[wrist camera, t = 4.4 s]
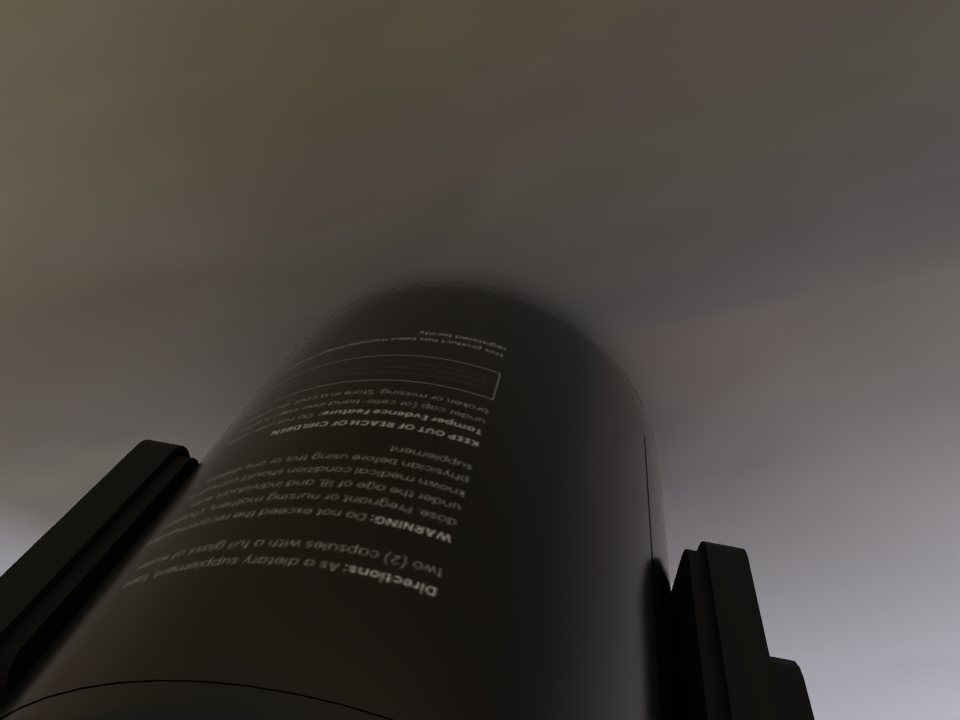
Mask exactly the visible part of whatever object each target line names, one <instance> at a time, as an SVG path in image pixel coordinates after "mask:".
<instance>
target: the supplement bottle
mask: <svg viewBox="0 0 960 720" xmlns="http://www.w3.org/2000/svg"><path fill="white" fill-rule="evenodd" d="M0 720H682V709H681V699H680V688H679V677H678V666H677V655H676V644H675V633H674V623H673V612H672V601H671V590H670V579H669V568H668V558H667V547H666V536H665V525H664V514H663V503H662V493H661V484H660V478H659V468H658V460H657V453H656V448H655V443H654V438H653V434H652V430H651V427H650V424H649V421H648V417H647V414H646V412H645V410H644V407H643V405H642V403H641V401H640V398H639V396H638V395H637V393H636V391H635V389H634V388H633V386H632V384H631V383H630V381H629V379H628V378H627V377H626V375H625V374H624V373H623V371H622V370H621V369H620V367H619V366H618V365H617V363H616V362H615V361H614V360H613V359H612V358H611V357H610V355H609V354H608V353H607V352H606V351H605V350H604V349H603V348H602V347H601V346H600V345H599V344H598V343H597V342H596V341H594V340H593V339H592V338H591V337H590V336H589V335H588V334H587V333H585V332H584V331H583V330H581V329H580V328H578V327H577V326H576V325H574V324H573V323H572V322H570V321H569V320H567V319H565V318H564V317H562V316H560V315H559V314H557V313H555V312H554V311H552V310H550V309H548V308H546V307H544V306H542V305H539V304H537V303H535V302H533V301H530V300H528V299H525V298H522V297H520V296H517V295H515V294H511V293H507V292H504V291H500V290H497V289H492V288H487V287H481V286H476V285H467V284H456V283H430V284H420V285H411V286H406V287H401V288H396V289H392V290H388V291H385V292H382V293H379V294H375V295H372V296H369V297H367V298H365V299H362V300H360V301H358V302H355V303H353V304H351V305H350V306H348V307H346V308H344V309H342V310H341V311H339V312H337V313H336V314H334V315H333V316H332V317H330V318H329V319H327V320H326V321H325V322H323V323H322V324H321V325H320V326H319V327H318V328H316V329H315V330H314V331H313V332H312V333H311V334H310V335H309V336H308V337H306V338H305V339H304V340H303V341H302V343H301V344H300V345H299V346H298V347H297V348H296V349H295V351H294V352H293V353H292V354H291V355H290V356H289V358H288V359H287V360H286V361H285V362H284V363H283V364H282V365H281V366H280V368H279V369H278V370H277V371H276V372H275V373H274V374H273V376H272V377H271V378H270V379H269V380H268V382H267V383H266V384H265V385H264V386H263V388H262V389H261V390H260V391H259V392H258V394H257V395H256V396H255V397H254V398H253V400H252V401H251V402H250V403H249V404H248V406H247V407H246V408H245V409H244V411H243V412H242V413H241V414H240V415H239V417H238V418H237V419H236V420H235V421H234V423H233V424H232V425H231V426H230V427H229V429H228V430H227V431H226V432H225V434H224V435H223V436H222V437H221V438H220V440H219V441H218V442H217V443H216V444H215V446H214V447H213V448H212V449H211V451H210V452H209V453H208V454H207V455H206V457H205V458H204V459H203V460H202V461H201V463H200V464H199V465H198V466H197V467H196V469H195V470H194V471H193V472H192V474H191V475H190V476H189V477H188V478H187V480H186V481H185V482H184V483H183V484H182V486H181V487H180V488H179V489H178V490H177V492H176V493H175V494H174V495H173V497H172V498H171V499H170V500H169V501H168V503H167V504H166V505H165V506H164V507H163V509H162V510H161V511H160V512H159V513H158V515H157V516H156V517H155V518H154V520H153V521H152V522H151V523H150V524H149V526H148V527H147V528H146V529H145V530H144V532H143V533H142V534H141V535H140V537H139V538H138V539H137V540H136V541H135V543H134V544H133V545H132V546H131V547H130V549H129V550H128V551H127V552H126V553H125V555H124V556H123V557H122V558H121V560H120V561H119V562H118V563H117V564H116V566H115V567H114V568H113V569H112V570H111V572H110V573H109V574H108V575H107V576H106V578H105V579H104V580H103V581H102V583H101V584H100V585H99V586H98V587H97V589H96V590H95V591H94V592H93V593H92V595H91V596H90V597H89V598H88V599H87V601H86V602H85V603H84V604H83V606H82V607H81V608H80V609H79V610H78V612H77V613H76V614H75V615H74V616H73V618H72V619H71V620H70V621H69V623H68V624H67V625H66V626H65V627H64V629H63V630H62V631H61V632H60V633H59V635H58V636H57V637H56V638H55V639H54V641H53V642H52V643H51V644H50V646H49V647H48V648H47V649H46V650H45V652H44V653H43V654H42V655H41V656H40V658H39V659H38V660H37V661H36V662H35V664H34V665H33V666H32V667H31V669H30V670H29V671H28V672H27V673H26V675H25V676H24V677H23V678H22V679H21V681H20V682H19V683H18V684H17V686H16V687H15V688H14V689H13V690H12V692H11V693H10V694H9V695H8V696H7V698H6V699H5V700H4V701H3V703H2V704H1V705H0Z"/></svg>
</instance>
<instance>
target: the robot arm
mask: <svg viewBox="0 0 960 720" xmlns="http://www.w3.org/2000/svg"><path fill="white" fill-rule="evenodd" d="M198 465H199V463H198V461H197V460H196V459H194V458H190V455H189V452H188V450H187V448H186V447H184V446H180V445H175V444H169V443H164V442H158V441H153V440H144V441H142V442H140V443H139V444H138V445H137V446H136V447H135V448H134V449H133V450H132V451H130V452H129V453H128V454H127V455H126V456H125V457H124V458H123V459H122V460H121V461H120V462H119V463H118V464H117V465H116V466H115V467H114V468H113V469H112V470H111V471H110V472H109V473H108V474H107V475H106V476H105V477H104V478H103V479H102V480H101V481H100V482H98V483H97V484H96V485H95V486H94V487H93V488H92V489H91V490H90V491H89V492H88V493H87V494H86V495H85V496H84V497H83V498H82V499H81V500H80V501H79V502H78V503H77V504H76V505H75V506H74V507H73V508H72V509H71V510H70V511H69V512H68V513H66V514H65V515H64V516H63V517H62V518H61V519H60V520H59V521H58V522H57V523H56V524H55V525H54V526H53V527H52V528H51V529H50V530H48V531H47V532H46V533H45V534H44V535H43V536H42V537H41V538H40V539H39V540H38V541H37V542H36V543H35V544H34V545H33V546H32V547H31V548H30V549H29V550H28V551H27V552H26V553H25V554H24V555H23V556H22V557H21V558H20V559H19V560H18V561H16V562H15V563H14V564H13V565H12V566H11V567H10V568H9V569H8V570H7V571H6V572H5V573H4V574H3V575H2V576H1V577H0V705H1V704H2V703H3V701H4V700H5V699H6V698H7V696H8V695H9V694H10V693H11V692H12V690H13V689H14V688H15V687H16V686H17V684H18V683H19V682H20V681H21V679H22V678H23V677H24V676H25V675H26V673H27V672H28V671H29V670H30V669H31V667H32V666H33V665H34V664H35V662H36V661H37V660H38V659H39V658H40V656H41V655H42V654H43V653H44V652H45V650H46V649H47V648H48V647H49V646H50V644H51V643H52V642H53V641H54V639H55V638H56V637H57V636H58V635H59V633H60V632H61V631H62V630H63V629H64V627H65V626H66V625H67V624H68V623H69V621H70V620H71V619H72V618H73V616H74V615H75V614H76V613H77V612H78V610H79V609H80V608H81V607H82V606H83V604H84V603H85V602H86V601H87V599H88V598H89V597H90V596H91V595H92V593H93V592H94V591H95V590H96V589H97V587H98V586H99V585H100V584H101V583H102V581H103V580H104V579H105V578H106V576H107V575H108V574H109V573H110V572H111V570H112V569H113V568H114V567H115V566H116V564H117V563H118V562H119V561H120V560H121V558H122V557H123V556H124V555H125V553H126V552H127V551H128V550H129V549H130V547H131V546H132V545H133V544H134V543H135V541H136V540H137V539H138V538H139V537H140V535H141V534H142V533H143V532H144V530H145V529H146V528H147V527H148V526H149V524H150V523H151V522H152V521H153V520H154V518H155V517H156V516H157V515H158V513H159V512H160V511H161V510H162V509H163V507H164V506H165V505H166V504H167V503H168V501H169V500H170V499H171V498H172V497H173V495H174V494H175V493H176V492H177V490H178V489H179V488H180V487H181V486H182V484H183V483H184V482H185V481H186V480H187V478H188V477H189V476H190V475H191V474H192V472H193V471H194V470H195V469H196V467H197V466H198ZM671 601H672V612H673V623H674V633H675V644H676V655H677V666H678V677H679V688H680V699H681V709H682V720H815V719H814V716H813V712H812V708H811V704H810V700H809V697H808V693H807V689H806V685H805V681H804V678H803V675H802V672H801V670H800V667H799V666H798V665H797V663H796V662H795V661H791V660H786V659H781V658H776V657H771V656H769V651H768V647H767V642H766V638H765V633H764V629H763V624H762V619H761V615H760V610H759V606H758V601H757V597H756V592H755V588H754V583H753V579H752V574H751V569H750V565H749V560H748V556H747V553H746V551H745V550H744V549H742V548H736V547H731V546H726V545H720V544H715V543H709V542H704V541H703V542H701V543H700V545H699V547H698V550H697V551H693V550H688V549H686V550H684V552H683V554H682V557H681V560H680V564H679V567H678V571H677V574H676V578H675V581H674V584H673V588H672V591H671Z"/></svg>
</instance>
